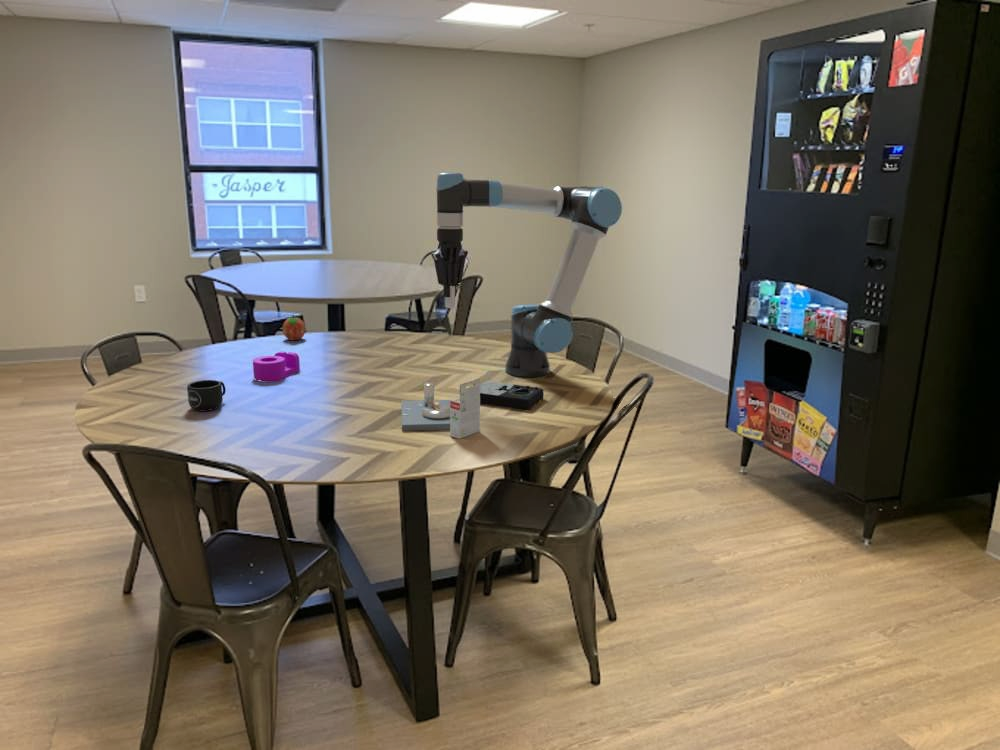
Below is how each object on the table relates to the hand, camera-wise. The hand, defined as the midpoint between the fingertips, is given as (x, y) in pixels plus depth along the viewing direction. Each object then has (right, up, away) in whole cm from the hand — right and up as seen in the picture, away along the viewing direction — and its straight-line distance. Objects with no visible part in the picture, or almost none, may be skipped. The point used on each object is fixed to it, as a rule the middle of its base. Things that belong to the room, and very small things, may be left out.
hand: (450, 307), depth 226 cm
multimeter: (+17, -28, 0) cm, 33 cm away
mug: (-68, -29, -11) cm, 75 cm away
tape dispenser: (-59, -21, +22) cm, 66 cm away
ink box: (+6, -36, -29) cm, 46 cm away
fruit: (-66, -6, +72) cm, 98 cm away
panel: (-2, -32, -16) cm, 36 cm away
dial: (-3, -30, -16) cm, 35 cm away
